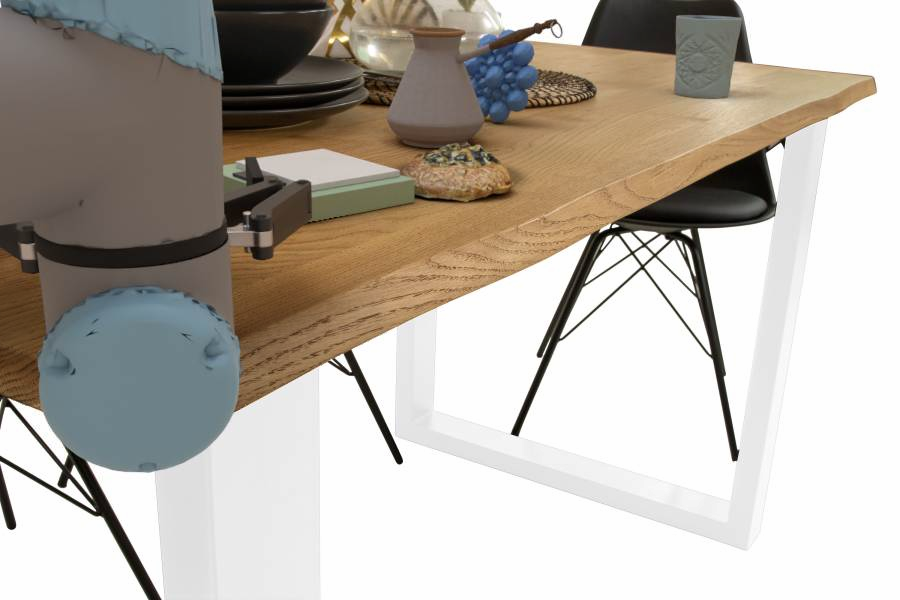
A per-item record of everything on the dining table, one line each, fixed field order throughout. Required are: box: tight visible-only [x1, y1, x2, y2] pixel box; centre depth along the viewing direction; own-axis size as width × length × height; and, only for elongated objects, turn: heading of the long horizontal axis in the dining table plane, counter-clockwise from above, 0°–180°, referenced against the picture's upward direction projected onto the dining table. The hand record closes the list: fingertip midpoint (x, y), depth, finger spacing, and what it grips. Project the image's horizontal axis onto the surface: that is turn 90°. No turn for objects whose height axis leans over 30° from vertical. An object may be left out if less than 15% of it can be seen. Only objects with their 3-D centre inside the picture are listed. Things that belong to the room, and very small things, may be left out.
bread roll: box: [400, 143, 515, 203], centre depth 96 cm, size 11×11×5 cm
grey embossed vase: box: [673, 14, 743, 99], centre depth 159 cm, size 10×10×12 cm
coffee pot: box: [386, 18, 564, 149], centre depth 114 cm, size 21×12×15 cm, turn 57°
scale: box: [223, 148, 415, 222], centre depth 92 cm, size 13×15×3 cm
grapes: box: [464, 29, 539, 124], centre depth 131 cm, size 12×7×12 cm, turn 52°
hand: (152, 178), depth 71 cm, fingers open, 13 cm apart
